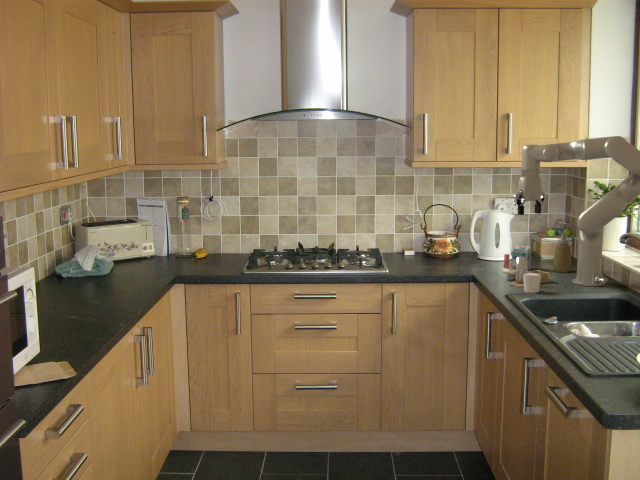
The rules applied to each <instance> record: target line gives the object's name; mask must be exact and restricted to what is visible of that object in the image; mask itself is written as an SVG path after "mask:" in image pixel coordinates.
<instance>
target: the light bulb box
mask: <svg viewBox="0 0 640 480" xmlns="http://www.w3.org/2000/svg"><path fill="white" fill-rule="evenodd" d="M512 251H513V252H512V266H516V257H519V256H521V257H526V260H525V273H526V272H527V271H531V266H532V246H527V245H526V246H525V245H516V246H515V247H513V250H512Z"/></svg>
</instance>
